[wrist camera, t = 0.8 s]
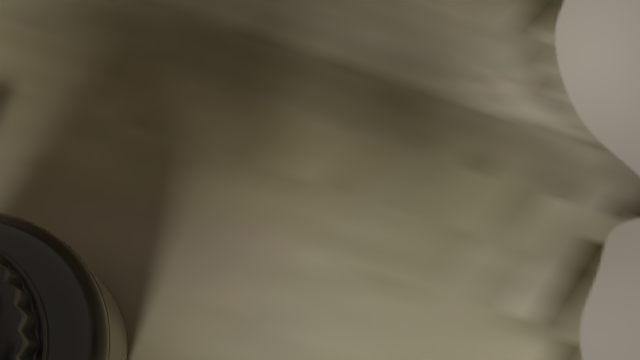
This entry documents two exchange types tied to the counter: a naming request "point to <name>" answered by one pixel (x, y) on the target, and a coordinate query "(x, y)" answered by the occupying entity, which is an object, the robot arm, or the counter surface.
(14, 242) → the supplement bottle
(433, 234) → the counter surface
